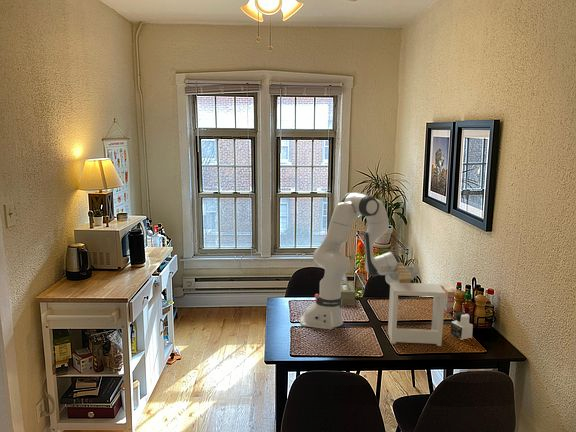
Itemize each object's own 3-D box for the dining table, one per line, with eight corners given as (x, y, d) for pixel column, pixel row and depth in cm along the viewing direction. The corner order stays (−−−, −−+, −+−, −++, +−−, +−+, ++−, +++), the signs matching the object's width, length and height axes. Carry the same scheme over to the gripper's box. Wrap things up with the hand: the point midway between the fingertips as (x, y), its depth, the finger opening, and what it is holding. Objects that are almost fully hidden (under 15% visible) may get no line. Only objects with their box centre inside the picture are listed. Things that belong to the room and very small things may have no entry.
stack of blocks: (434, 298, 272) (435, 279, 269) (444, 298, 272) (446, 279, 269) (446, 312, 251) (448, 291, 248) (457, 312, 251) (459, 291, 248)
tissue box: (336, 293, 279) (336, 269, 276) (352, 294, 278) (353, 269, 276) (338, 305, 260) (338, 278, 258) (355, 305, 260) (356, 279, 257)
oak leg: (410, 283, 210) (411, 274, 209) (399, 282, 210) (400, 273, 209) (404, 268, 228) (404, 260, 227) (394, 268, 229) (394, 259, 228)
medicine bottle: (450, 335, 222) (451, 312, 220) (461, 332, 225) (463, 309, 222) (460, 341, 215) (462, 317, 213) (472, 338, 218) (474, 315, 216)
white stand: (391, 343, 212) (393, 290, 208) (387, 332, 224) (390, 282, 220) (441, 345, 210) (445, 292, 206) (435, 334, 222) (438, 283, 218)
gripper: (376, 266, 239) (379, 260, 226) (415, 267, 238) (420, 261, 225) (376, 278, 237) (379, 272, 224) (416, 279, 236) (421, 274, 223)
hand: (400, 267), depth 224 cm, fingers closed on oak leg, 3 cm apart
